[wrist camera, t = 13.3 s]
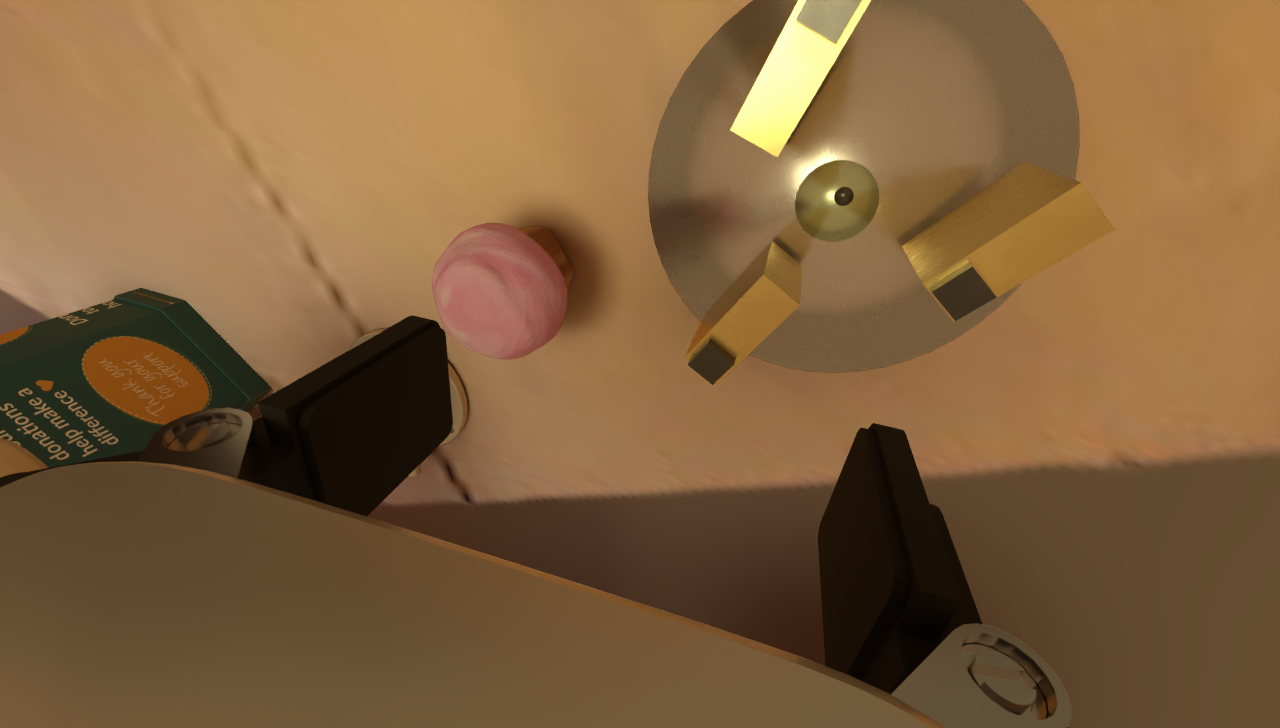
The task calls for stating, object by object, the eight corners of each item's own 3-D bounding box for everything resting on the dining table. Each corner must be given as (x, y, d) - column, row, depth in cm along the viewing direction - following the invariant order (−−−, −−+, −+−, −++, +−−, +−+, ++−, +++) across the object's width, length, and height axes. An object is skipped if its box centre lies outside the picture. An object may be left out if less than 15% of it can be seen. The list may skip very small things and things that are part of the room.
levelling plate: (957, 391, 33) (967, 411, 31) (641, 322, 38) (631, 336, 36) (1163, -22, 22) (1198, -33, 20) (680, -50, 27) (669, -61, 25)
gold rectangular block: (784, 143, 28) (776, 159, 22) (746, 121, 28) (728, 131, 22) (861, 13, 24) (876, -10, 18) (817, -12, 24) (819, -43, 18)
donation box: (220, 439, 63) (-131, 650, 40) (114, 337, 59) (-343, 503, 36) (271, 387, 55) (-132, 613, 32) (152, 266, 51) (-405, 419, 28)
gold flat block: (1023, 161, 25) (1088, 185, 19) (1050, 198, 25) (1122, 232, 19) (901, 246, 28) (925, 288, 22) (927, 277, 29) (957, 327, 23)
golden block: (772, 240, 30) (762, 278, 24) (802, 266, 30) (799, 309, 24) (705, 313, 34) (682, 362, 28) (732, 336, 34) (715, 389, 28)
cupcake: (544, 178, 35) (459, 208, 26) (622, 278, 37) (565, 336, 28) (471, 251, 39) (379, 296, 31) (544, 337, 41) (475, 401, 33)
